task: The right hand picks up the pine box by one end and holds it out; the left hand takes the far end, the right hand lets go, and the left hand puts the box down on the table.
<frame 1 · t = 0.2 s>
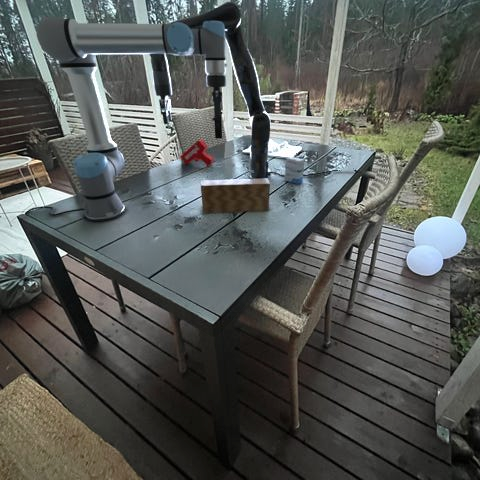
left hand: (218, 134, 112), 28 cm above the table, tool pointing down, fingers open, 13 cm apart
right hand: (167, 122, 130), 29 cm above the table, tool pointing down, fingers open, 8 cm apart
box: (235, 208, 116), on the table
relief map: (273, 151, 194), on the table
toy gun: (197, 164, 169), on the table
ink box: (293, 181, 143), on the table
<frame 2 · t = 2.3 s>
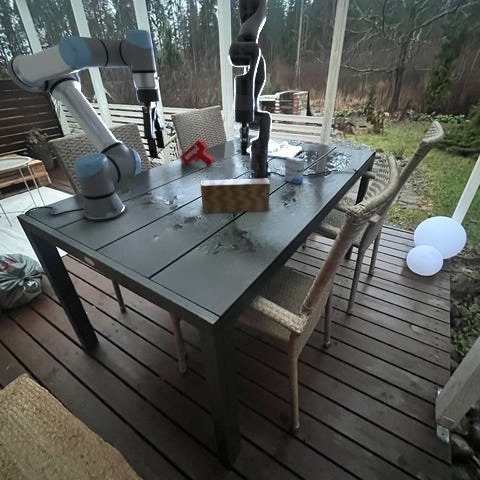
left hand: (158, 152, 102), 24 cm above the table, tool pointing down, fingers open, 13 cm apart
right hand: (243, 152, 109), 22 cm above the table, tool pointing down, fingers open, 8 cm apart
nothing on the table moved.
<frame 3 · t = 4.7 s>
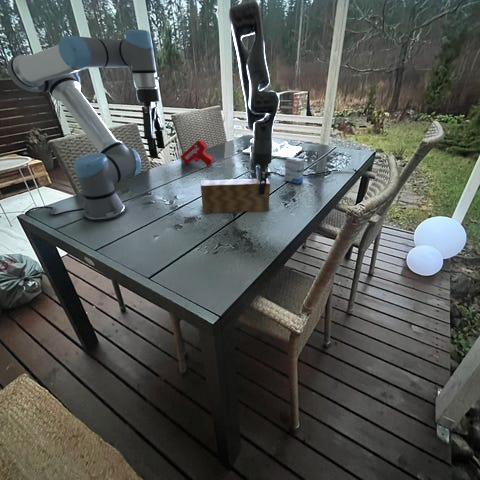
left hand: (158, 152, 102), 24 cm above the table, tool pointing down, fingers open, 13 cm apart
right hand: (260, 191, 113), 8 cm above the table, tool pointing down, fingers closed on box, 6 cm apart
box: (235, 208, 116), on the table, touching right hand
everything else where it was.
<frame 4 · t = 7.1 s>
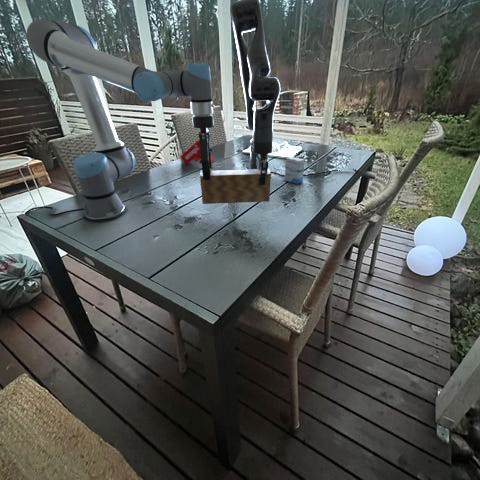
left hand: (207, 173, 107), 16 cm above the table, tool pointing down, fingers open, 13 cm apart
right hand: (261, 181, 111), 12 cm above the table, tool pointing down, fingers closed on box, 6 cm apart
box: (235, 199, 114), point 4 cm above the table, touching right hand
everything else where it was.
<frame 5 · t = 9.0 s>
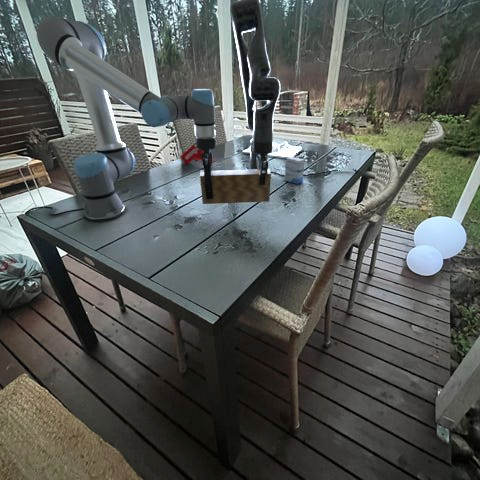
left hand: (209, 195, 112), 7 cm above the table, tool pointing down, fingers closed on box, 6 cm apart
right hand: (261, 181, 111), 12 cm above the table, tool pointing down, fingers closed on box, 6 cm apart
box: (235, 200, 114), point 4 cm above the table, touching right hand, left hand
everything else where it was.
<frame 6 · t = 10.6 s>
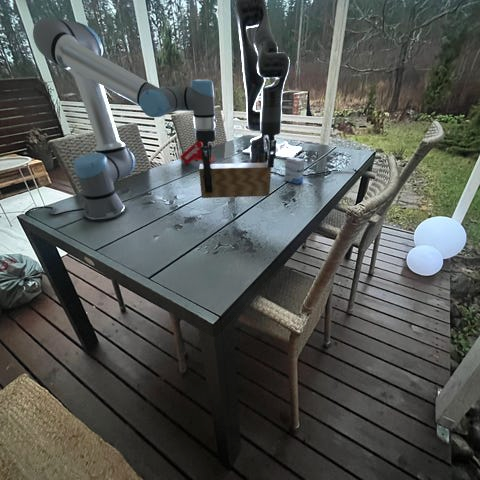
left hand: (209, 188, 111), 9 cm above the table, tool pointing down, fingers closed on box, 6 cm apart
right hand: (268, 163, 107), 19 cm above the table, tool pointing down, fingers open, 8 cm apart
box: (235, 194, 113), point 7 cm above the table, touching left hand
everything else where it was.
when the left hand's fingers open (4 cm above the table, at t = 13.8 s): box drops 1 cm, on the table.
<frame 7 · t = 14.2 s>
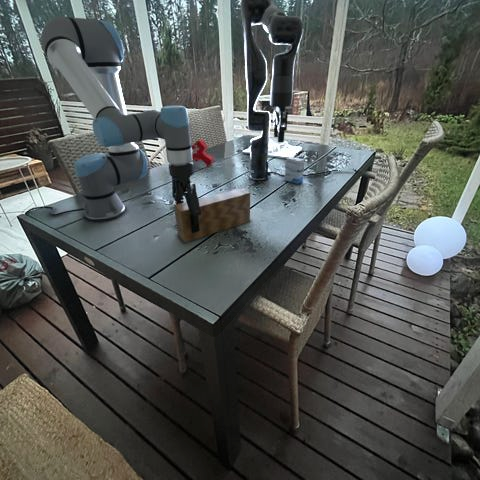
left hand: (188, 224, 95), 5 cm above the table, tool pointing down, fingers open, 11 cm apart
right hand: (278, 139, 102), 28 cm above the table, tool pointing down, fingers open, 8 cm apart
box: (215, 228, 103), on the table
everything else where it was.
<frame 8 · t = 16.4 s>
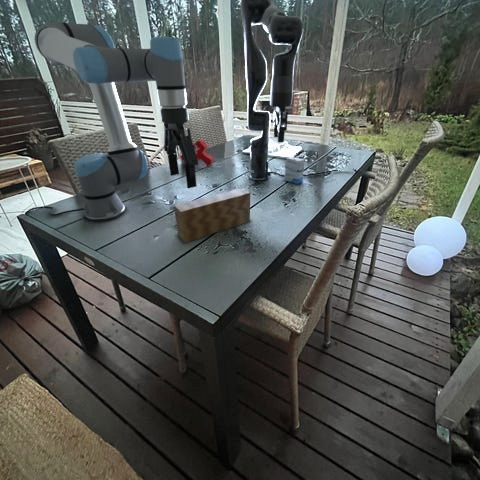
left hand: (182, 180, 86), 21 cm above the table, tool pointing down, fingers open, 13 cm apart
right hand: (278, 139, 102), 28 cm above the table, tool pointing down, fingers open, 8 cm apart
nothing on the table moved.
at the end: box inside the target area (10.7 cm from its centre), on the table; the left hand is holding nothing; the right hand is holding nothing; box at rest at the end (0.0 cm/s) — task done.
